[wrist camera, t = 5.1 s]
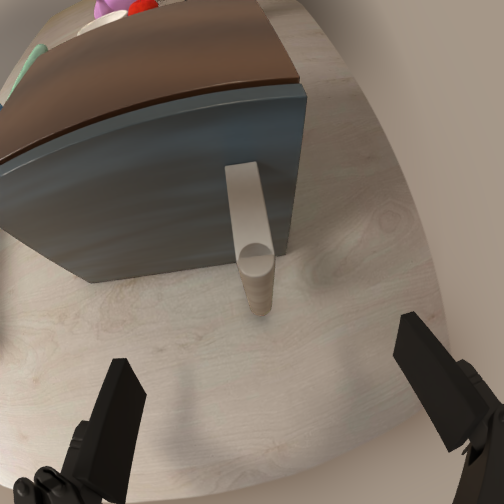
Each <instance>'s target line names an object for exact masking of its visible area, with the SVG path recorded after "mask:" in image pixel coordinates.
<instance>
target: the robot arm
mask: <svg viewBox="0 0 504 504" xmlns="http://www.w3.org/2000/svg"><path fill="white" fill-rule="evenodd" d="M393 357H394V359H395V360H396V362H397V363H398V365H399V367H400V368H401V370H402V371H403V373H404V375H405V376H406V378H407V380H408V381H409V383H410V385H411V386H412V388H413V390H414V391H415V393H416V395H417V396H418V398H419V400H420V401H421V403H422V405H423V407H424V408H425V410H426V412H427V414H428V415H429V417H430V419H431V421H432V423H433V424H434V426H435V428H436V430H437V432H438V433H439V435H440V437H441V439H442V441H443V442H444V445H445V446H446V448H447V450H448V452H451V451H453V450H455V449H457V448H458V447H460V446H462V445H463V444H464V443H465V441H466V440H467V439H469V440H470V443H469V445H468V446H467V447H466V448H465V449H464V450H463V452H462V455H464V454H465V453H466V452H467V455H466V459H465V464H464V468H463V471H462V475H461V478H460V482H459V485H458V488H457V491H456V495H455V498H454V500H453V503H452V504H504V404H502V403H501V402H500V401H499V400H498V399H497V397H496V396H495V395H494V394H493V392H492V391H491V389H490V388H489V387H488V385H487V384H486V383H485V381H483V380H482V378H481V376H480V375H479V374H478V372H477V371H476V370H475V369H474V367H473V366H472V365H471V364H470V363H468V362H466V361H465V360H463V359H462V360H460V361H458V362H456V361H455V360H454V359H453V358H452V356H451V355H450V354H449V353H448V351H447V350H446V349H445V348H444V346H443V345H442V344H441V343H440V341H439V340H438V339H437V338H436V337H435V335H434V334H433V333H432V332H431V331H430V329H429V328H428V327H427V326H426V325H425V324H424V322H423V321H422V320H421V319H420V318H419V317H418V315H417V314H416V313H415V312H414V311H413V312H410V313H406V314H403V315H401V318H400V324H399V329H398V334H397V339H396V344H395V348H394V353H393ZM146 396H147V394H146V393H145V391H144V389H143V387H142V386H141V384H140V382H139V380H138V379H137V377H136V375H135V373H134V371H133V370H132V368H131V366H130V364H129V362H128V360H127V358H117V359H113V360H112V362H111V365H110V367H109V370H108V372H107V375H106V377H105V380H104V382H103V385H102V387H101V390H100V392H99V395H98V398H97V400H96V403H95V406H94V409H93V411H92V414H91V417H90V420H89V421H83V420H82V421H81V422H80V424H79V425H78V426H77V427H76V428H75V431H74V434H73V437H72V440H71V442H70V447H69V448H68V451H67V454H66V457H65V461H64V464H63V467H62V470H61V473H59V472H57V471H56V470H55V469H53V468H52V467H49V466H45V467H41V468H40V469H38V470H37V472H36V473H35V476H34V483H33V482H32V481H31V480H29V479H27V478H24V477H22V478H19V479H18V480H17V481H16V482H15V484H14V487H13V493H14V503H15V504H102V503H101V502H102V498H103V499H105V500H107V501H108V502H111V503H116V504H125V502H126V495H127V489H128V483H129V477H130V472H131V466H132V461H133V455H134V450H135V445H136V440H137V436H138V431H139V426H140V422H141V417H142V413H143V408H144V404H145V400H146Z"/></svg>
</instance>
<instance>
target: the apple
mask: <svg viewBox="0 0 504 504" xmlns="http://www.w3.org/2000/svg"><path fill="white" fill-rule="evenodd" d="M157 7H158V4H157V2H156V1H155V0H137V1H135V2H134V3H132V4H131V5H130V7H129V10H128V16H130V15H133V14H136V13H139V12H143V11H146V10H150V9H153V8H157Z"/></svg>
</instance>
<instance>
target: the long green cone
mask: <svg viewBox="0 0 504 504" xmlns="http://www.w3.org/2000/svg"><path fill="white" fill-rule="evenodd" d="M47 51H48V49H47V46H46V45H44V44H38V45H37V46H36V47H35V48H34V49H33V51H32V52H31V54H30V56H29V57H28V59H27V61H26V63H25V65H24V66H23V68H22V70H21V72H20V74H19V76H18V78H17V80H16V82H15V84H14V86H13V88H12V90H11V92H10V95H11V93H12V92H13V90H14V89H15V87H16V86H17V84H18V83H19V82H20V80H21V79H22V77H23V76H24V74H25V73H26V72H27V70H28V69H29V68H30V66H31V65H32V64H33V62H34V61H35V60H36V59H37V57H38V56H40V55H41V54H43V53H45V52H47ZM10 95H9V96H10ZM8 98H9V97H8ZM7 100H8V99H7Z"/></svg>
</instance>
